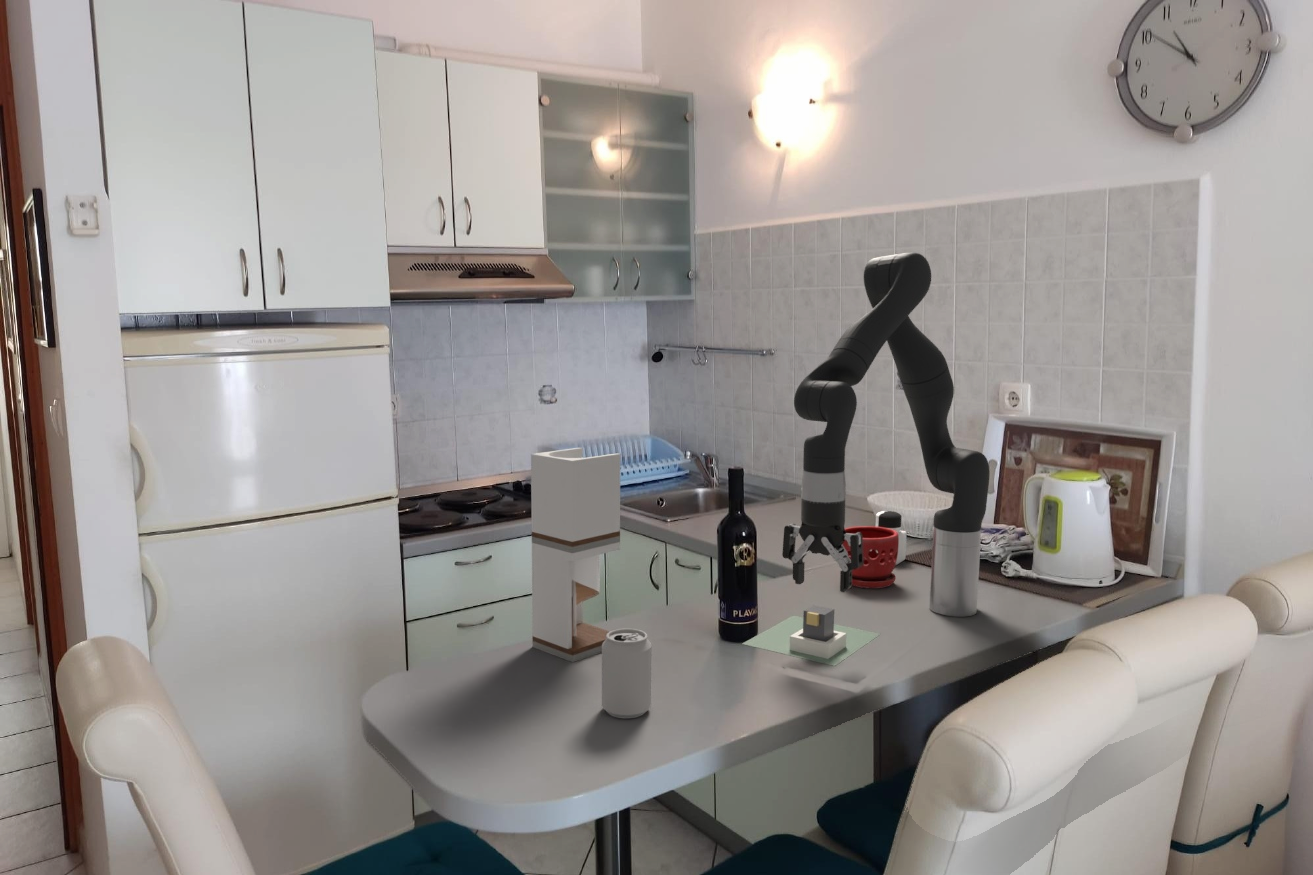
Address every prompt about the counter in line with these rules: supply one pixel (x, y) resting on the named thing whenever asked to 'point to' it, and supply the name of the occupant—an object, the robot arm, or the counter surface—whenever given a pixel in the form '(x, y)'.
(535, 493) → the white tall box
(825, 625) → the plug
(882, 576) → the plant pot
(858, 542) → the robot arm
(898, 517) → the medicine bottle
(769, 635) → the board
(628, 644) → the can
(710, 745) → the counter surface
